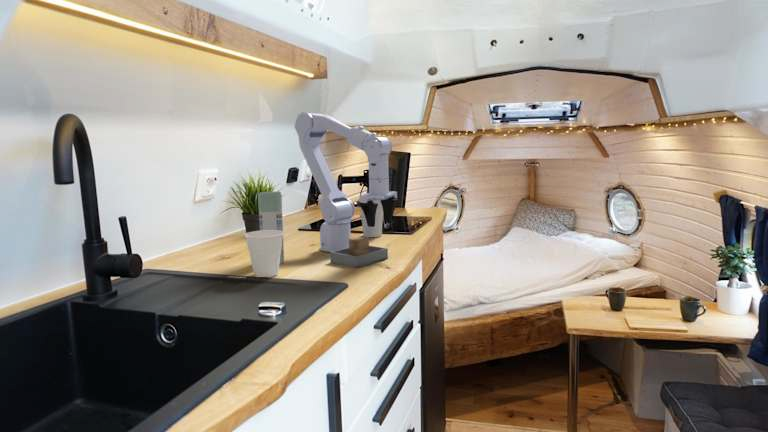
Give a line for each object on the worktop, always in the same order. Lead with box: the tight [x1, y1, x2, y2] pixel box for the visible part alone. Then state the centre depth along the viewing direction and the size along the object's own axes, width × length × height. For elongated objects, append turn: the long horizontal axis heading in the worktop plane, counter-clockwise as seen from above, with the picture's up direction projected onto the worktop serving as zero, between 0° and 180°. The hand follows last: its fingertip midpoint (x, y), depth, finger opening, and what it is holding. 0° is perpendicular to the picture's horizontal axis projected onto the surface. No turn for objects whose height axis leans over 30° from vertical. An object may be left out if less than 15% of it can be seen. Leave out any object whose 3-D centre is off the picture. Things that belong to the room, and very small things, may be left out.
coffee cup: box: [358, 192, 384, 238], centre depth 182 cm, size 10×10×15 cm
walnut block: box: [349, 236, 370, 256], centre depth 145 cm, size 4×4×6 cm
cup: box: [244, 230, 285, 278], centre depth 132 cm, size 10×10×11 cm
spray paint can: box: [257, 191, 285, 265], centre depth 145 cm, size 6×6×20 cm
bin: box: [329, 245, 389, 269], centre depth 146 cm, size 10×13×3 cm
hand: (379, 224), depth 151 cm, fingers open, 7 cm apart
